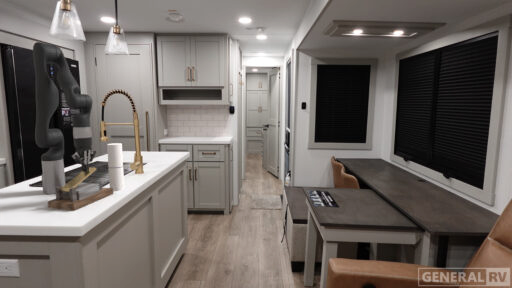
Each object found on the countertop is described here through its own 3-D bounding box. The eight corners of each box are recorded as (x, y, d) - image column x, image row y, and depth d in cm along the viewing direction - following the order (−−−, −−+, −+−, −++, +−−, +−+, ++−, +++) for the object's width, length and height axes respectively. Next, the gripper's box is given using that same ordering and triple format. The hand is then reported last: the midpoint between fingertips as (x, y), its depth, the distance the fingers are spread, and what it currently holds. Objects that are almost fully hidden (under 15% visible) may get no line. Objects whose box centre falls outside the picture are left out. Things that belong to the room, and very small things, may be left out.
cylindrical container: (108, 191, 150) (105, 145, 147) (111, 187, 157) (108, 143, 153) (123, 190, 152) (120, 144, 148) (125, 186, 159) (122, 143, 155)
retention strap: (60, 191, 126) (58, 189, 125) (88, 169, 141) (87, 166, 140) (69, 192, 125) (68, 189, 124) (96, 169, 140) (95, 167, 139)
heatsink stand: (48, 207, 125) (46, 188, 124) (90, 191, 149) (89, 175, 147) (74, 210, 123) (72, 190, 121) (113, 193, 146) (112, 177, 144)
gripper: (87, 134, 141) (90, 168, 143) (63, 137, 128) (67, 174, 131) (99, 135, 139) (102, 169, 142) (77, 138, 127) (81, 175, 129)
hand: (85, 171), depth 136 cm, fingers closed
